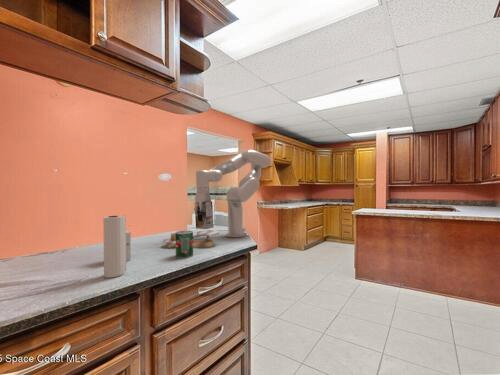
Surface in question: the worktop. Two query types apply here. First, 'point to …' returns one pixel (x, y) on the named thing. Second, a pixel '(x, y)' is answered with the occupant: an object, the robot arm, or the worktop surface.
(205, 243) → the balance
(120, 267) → the paper towel roll
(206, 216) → the coffee box
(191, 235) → the canned tomato
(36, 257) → the worktop surface
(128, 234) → the supplement box
